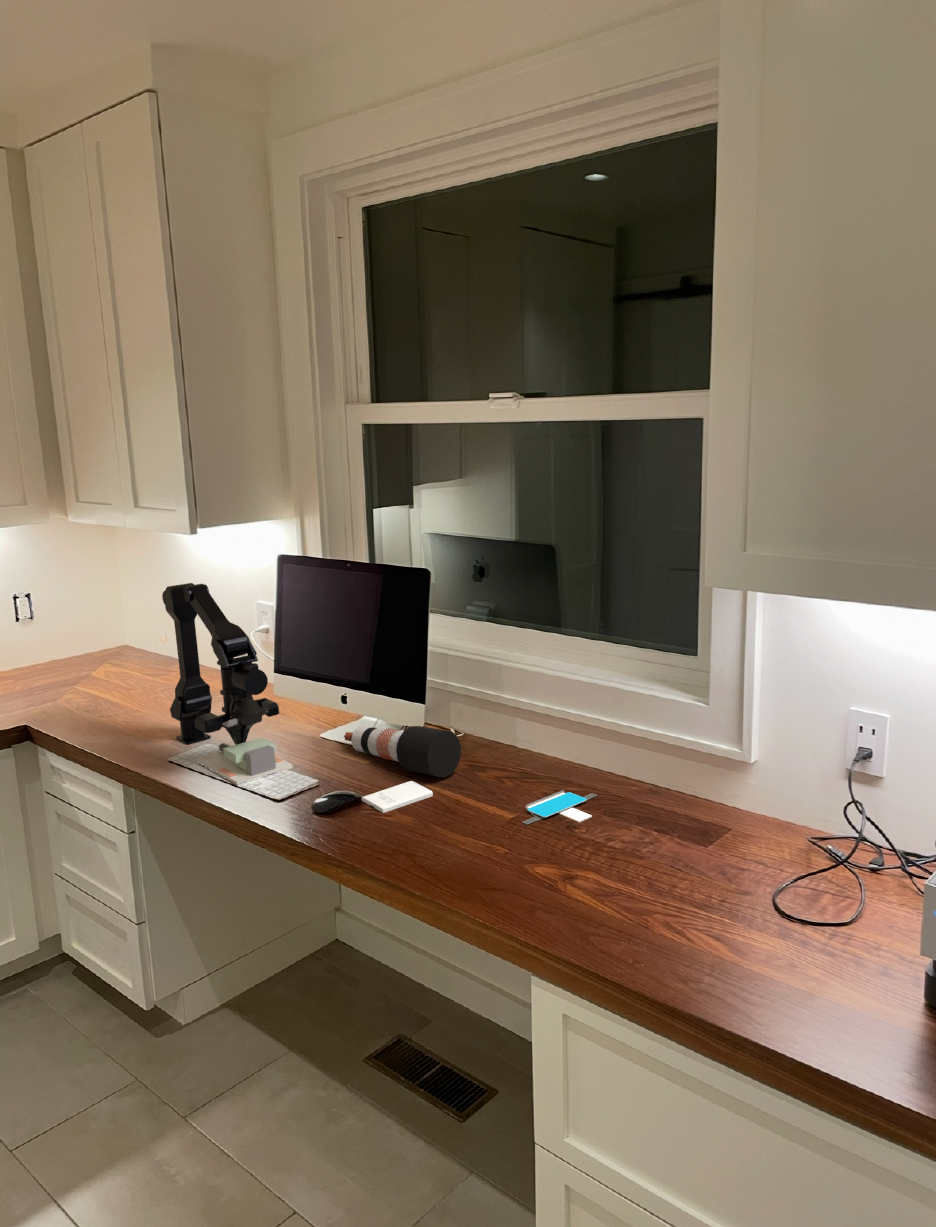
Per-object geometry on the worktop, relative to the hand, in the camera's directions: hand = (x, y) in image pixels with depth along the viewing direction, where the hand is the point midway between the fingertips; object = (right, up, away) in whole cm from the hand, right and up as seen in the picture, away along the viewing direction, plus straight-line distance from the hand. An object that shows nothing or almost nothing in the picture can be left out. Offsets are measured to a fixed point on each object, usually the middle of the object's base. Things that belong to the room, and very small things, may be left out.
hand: (240, 750), depth 214 cm
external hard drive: (+38, -8, -21) cm, 44 cm away
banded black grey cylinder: (+36, -3, -1) cm, 36 cm away
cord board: (+1, -3, 0) cm, 3 cm away
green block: (+3, -3, -3) cm, 5 cm away
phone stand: (+72, -8, -30) cm, 78 cm away
